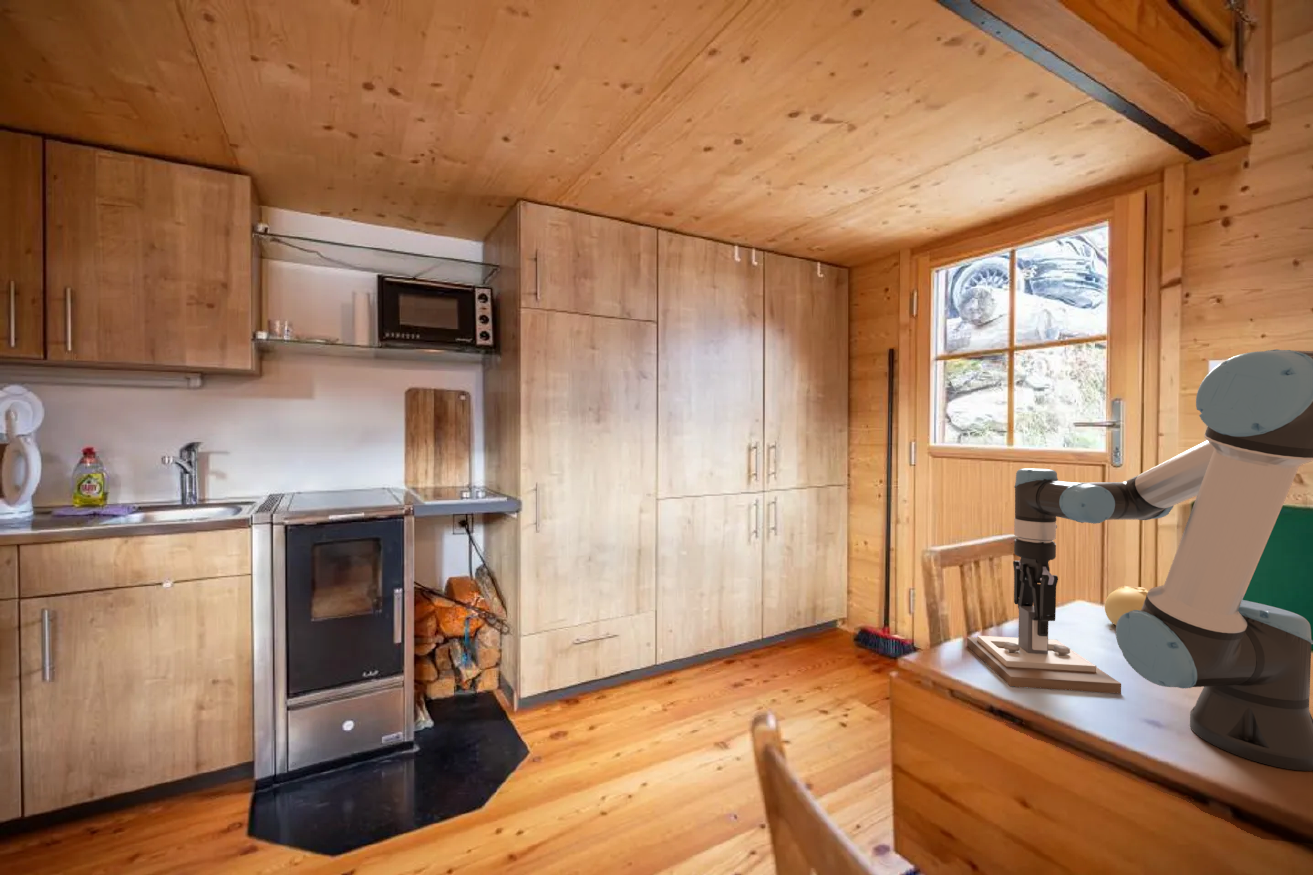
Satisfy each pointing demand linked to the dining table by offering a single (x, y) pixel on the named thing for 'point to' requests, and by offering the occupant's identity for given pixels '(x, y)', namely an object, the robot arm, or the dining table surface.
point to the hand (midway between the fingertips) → (1033, 644)
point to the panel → (1035, 658)
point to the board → (1046, 672)
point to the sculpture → (1124, 601)
